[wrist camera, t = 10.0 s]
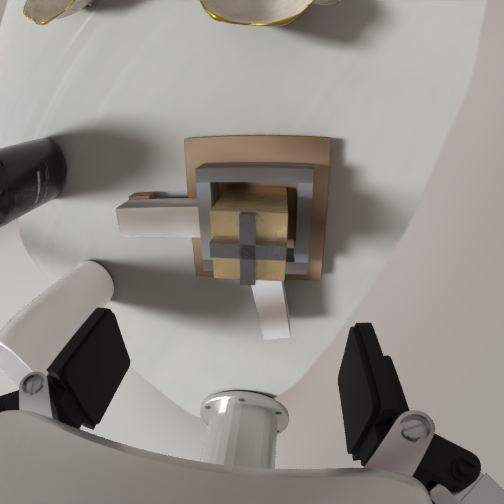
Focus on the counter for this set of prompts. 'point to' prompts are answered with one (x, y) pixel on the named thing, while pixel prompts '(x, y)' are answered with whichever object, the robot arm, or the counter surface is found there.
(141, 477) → the robot arm
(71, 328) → the drinking glass
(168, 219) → the shaft rig
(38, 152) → the supplement bottle
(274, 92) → the counter surface
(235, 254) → the block
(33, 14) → the chinaware
